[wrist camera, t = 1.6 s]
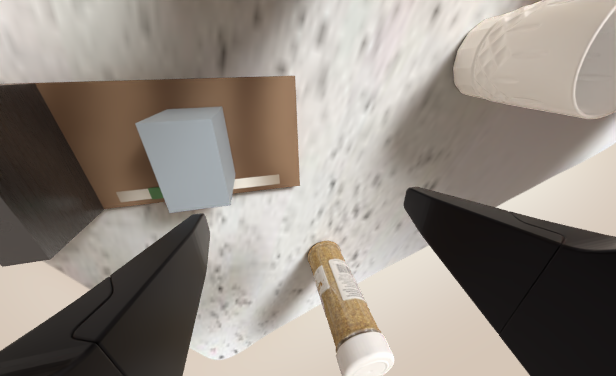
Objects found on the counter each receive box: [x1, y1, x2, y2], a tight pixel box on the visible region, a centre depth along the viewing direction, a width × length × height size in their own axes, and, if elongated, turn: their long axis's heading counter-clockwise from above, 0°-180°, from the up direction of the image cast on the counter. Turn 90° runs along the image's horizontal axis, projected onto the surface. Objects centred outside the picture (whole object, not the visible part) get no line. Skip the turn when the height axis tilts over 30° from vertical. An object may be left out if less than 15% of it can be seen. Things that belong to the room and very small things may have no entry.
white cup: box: [453, 0, 616, 119], centre depth 17 cm, size 8×8×10 cm
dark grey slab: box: [0, 83, 104, 266], centre depth 14 cm, size 2×10×6 cm, turn 2°
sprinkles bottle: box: [308, 241, 394, 376], centre depth 23 cm, size 5×5×14 cm
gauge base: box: [19, 76, 300, 209], centre depth 19 cm, size 20×10×1 cm, turn 92°
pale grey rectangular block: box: [135, 107, 235, 213], centre depth 17 cm, size 4×8×5 cm, turn 2°
